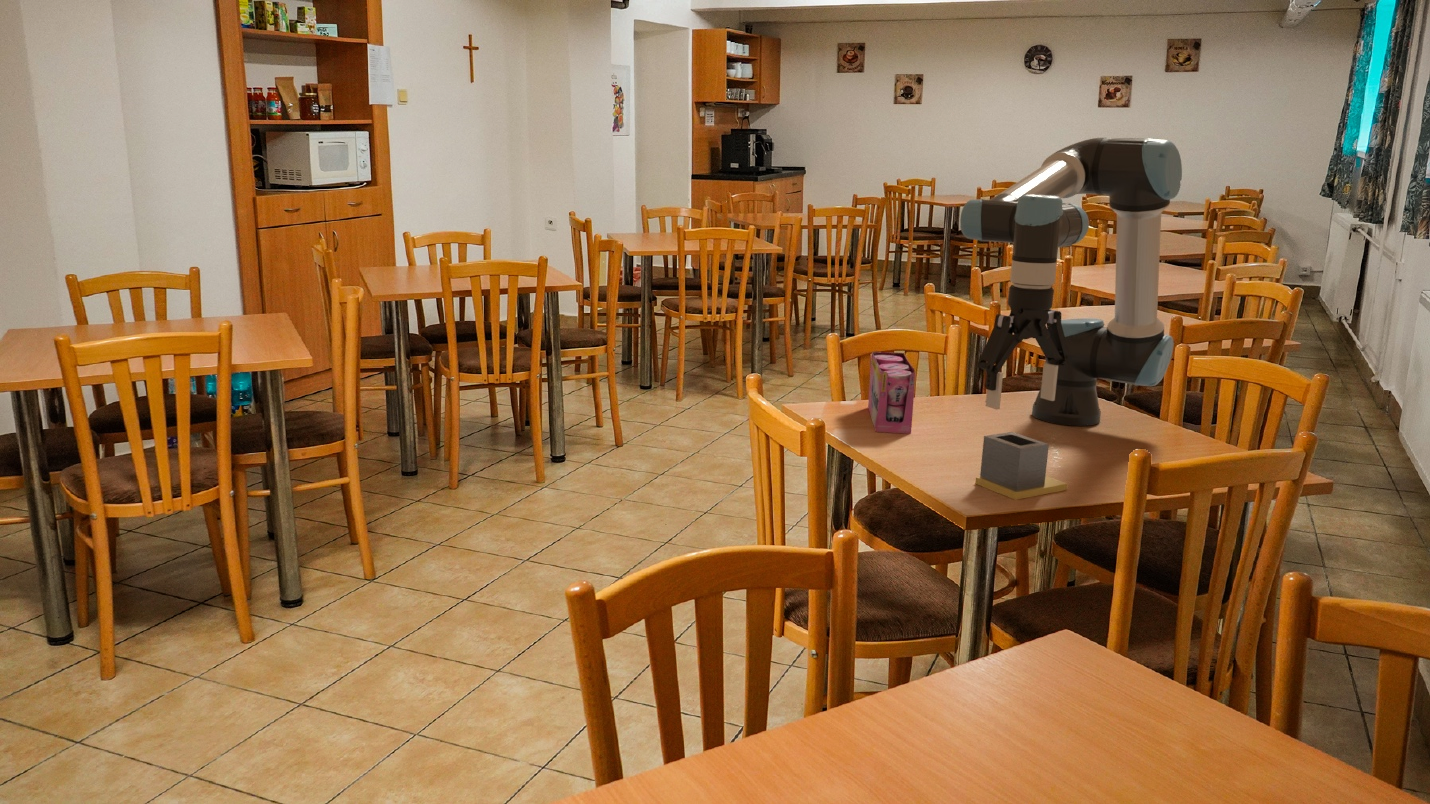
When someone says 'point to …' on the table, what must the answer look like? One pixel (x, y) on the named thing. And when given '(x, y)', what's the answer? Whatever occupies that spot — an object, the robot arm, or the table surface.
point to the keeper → (1049, 487)
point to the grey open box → (1014, 461)
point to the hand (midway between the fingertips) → (1020, 403)
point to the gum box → (891, 392)
